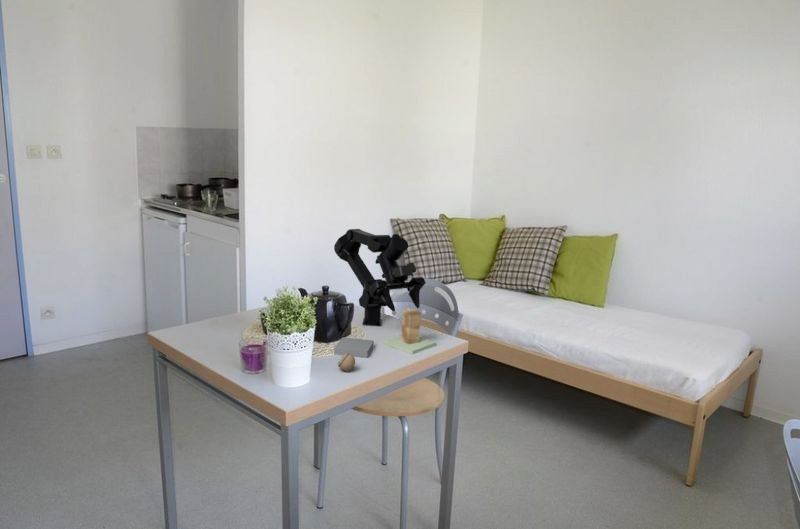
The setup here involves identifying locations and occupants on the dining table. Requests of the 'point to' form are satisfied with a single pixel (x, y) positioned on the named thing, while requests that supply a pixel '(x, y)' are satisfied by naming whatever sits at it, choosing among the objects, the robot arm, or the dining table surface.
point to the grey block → (354, 347)
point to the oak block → (410, 326)
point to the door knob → (346, 362)
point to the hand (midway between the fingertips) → (406, 309)
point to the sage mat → (409, 348)
